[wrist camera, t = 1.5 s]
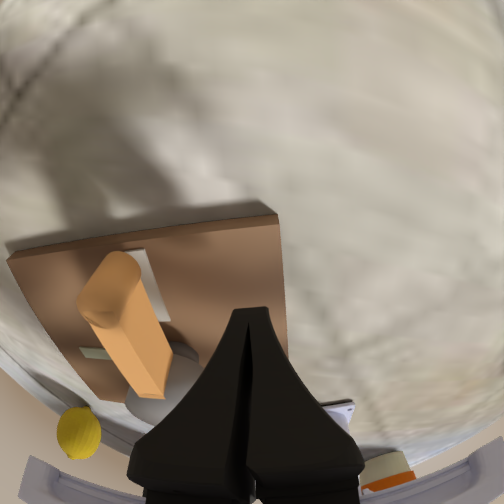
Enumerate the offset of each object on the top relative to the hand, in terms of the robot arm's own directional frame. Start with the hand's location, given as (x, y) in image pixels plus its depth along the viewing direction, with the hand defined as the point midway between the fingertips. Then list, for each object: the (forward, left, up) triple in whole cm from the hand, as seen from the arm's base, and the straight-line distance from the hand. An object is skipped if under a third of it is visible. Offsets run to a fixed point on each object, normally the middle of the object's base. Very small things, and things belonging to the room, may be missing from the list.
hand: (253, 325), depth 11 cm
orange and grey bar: (-3, +6, -2) cm, 7 cm away
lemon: (-20, +23, -5) cm, 31 cm away
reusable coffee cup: (-49, -19, -5) cm, 52 cm away
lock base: (-6, +8, -5) cm, 11 cm away
